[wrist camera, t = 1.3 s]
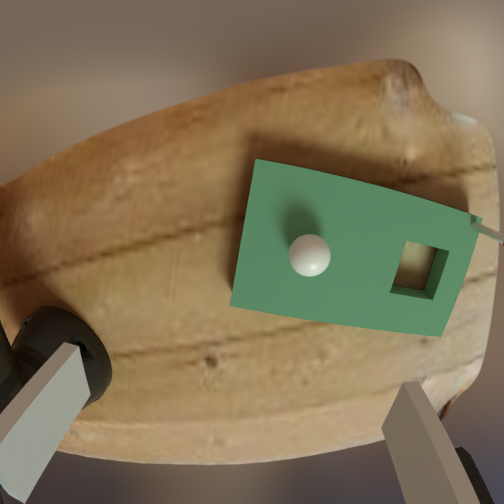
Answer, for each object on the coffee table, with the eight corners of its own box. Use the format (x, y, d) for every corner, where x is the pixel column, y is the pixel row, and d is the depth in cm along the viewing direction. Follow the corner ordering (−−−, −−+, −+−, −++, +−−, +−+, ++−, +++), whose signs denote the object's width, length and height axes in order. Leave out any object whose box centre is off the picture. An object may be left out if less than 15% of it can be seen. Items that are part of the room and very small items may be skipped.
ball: (283, 264, 29) (285, 278, 26) (292, 226, 28) (294, 236, 25) (321, 271, 29) (327, 286, 26) (331, 234, 28) (339, 245, 25)
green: (232, 294, 33) (229, 305, 31) (257, 158, 29) (255, 158, 26) (432, 326, 33) (440, 336, 31) (470, 213, 29) (482, 218, 26)
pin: (444, 220, 27) (521, 258, 15) (446, 212, 27) (524, 247, 15) (475, 230, 27) (551, 269, 15) (477, 222, 27) (554, 259, 15)
